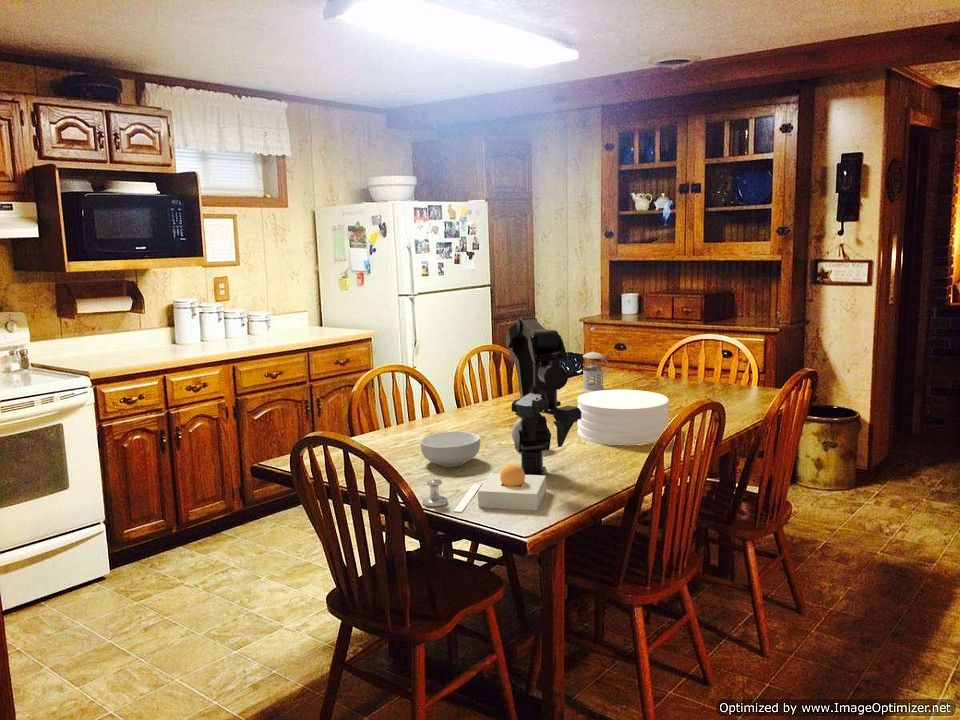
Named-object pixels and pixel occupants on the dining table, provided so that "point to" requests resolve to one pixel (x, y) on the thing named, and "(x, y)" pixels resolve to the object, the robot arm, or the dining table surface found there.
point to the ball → (512, 475)
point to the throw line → (467, 498)
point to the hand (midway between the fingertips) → (545, 443)
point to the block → (512, 493)
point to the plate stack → (622, 416)
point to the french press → (593, 373)
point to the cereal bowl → (450, 447)
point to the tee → (434, 495)
